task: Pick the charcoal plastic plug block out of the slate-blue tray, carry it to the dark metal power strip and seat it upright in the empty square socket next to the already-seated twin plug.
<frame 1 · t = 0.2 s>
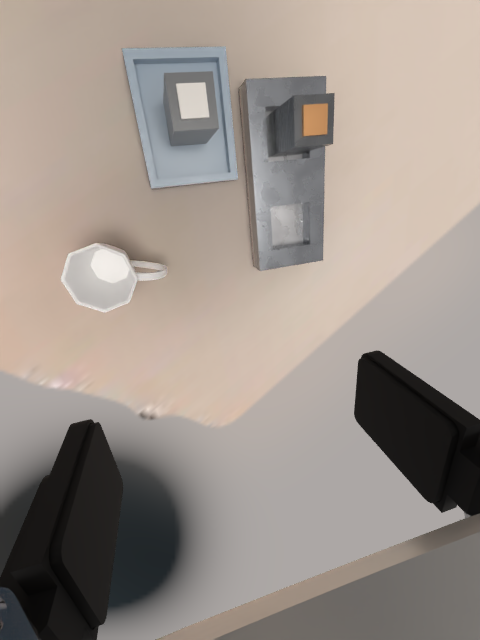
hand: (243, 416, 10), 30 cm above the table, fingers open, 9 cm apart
strip: (280, 183, 37), on the table
tray: (185, 125, 32), on the table
plug: (185, 123, 31), point 1 cm above the table, touching tray
cup: (125, 262, 36), on the table
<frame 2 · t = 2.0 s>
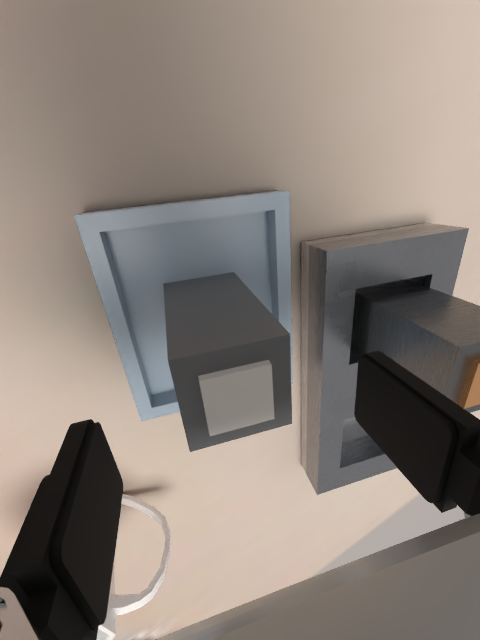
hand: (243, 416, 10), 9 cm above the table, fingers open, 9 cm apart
strip: (353, 362, 23), on the table
tray: (203, 306, 18), on the table
plug: (204, 310, 17), point 1 cm above the table, touching tray
cup: (100, 496, 22), on the table
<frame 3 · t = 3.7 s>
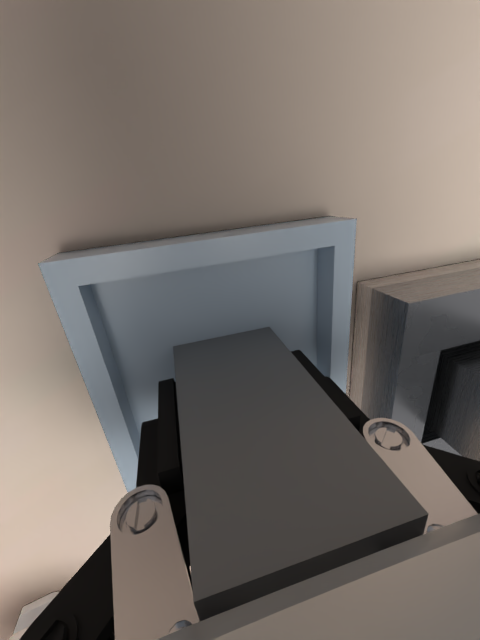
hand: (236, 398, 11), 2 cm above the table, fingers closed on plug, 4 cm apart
strip: (411, 424, 18), on the table
tray: (225, 369, 13), on the table
plug: (228, 376, 12), point 1 cm above the table, touching gripper, tray
cup: (89, 602, 17), on the table
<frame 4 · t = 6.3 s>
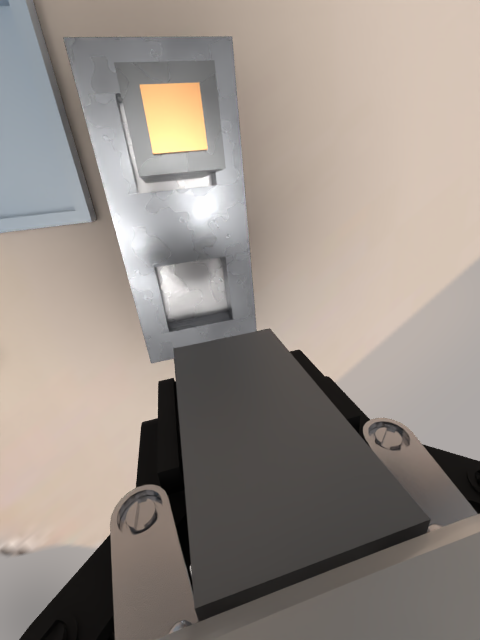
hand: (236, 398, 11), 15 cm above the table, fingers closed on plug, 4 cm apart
strip: (181, 223, 22), on the table
plug: (228, 378, 12), point 14 cm above the table, touching gripper
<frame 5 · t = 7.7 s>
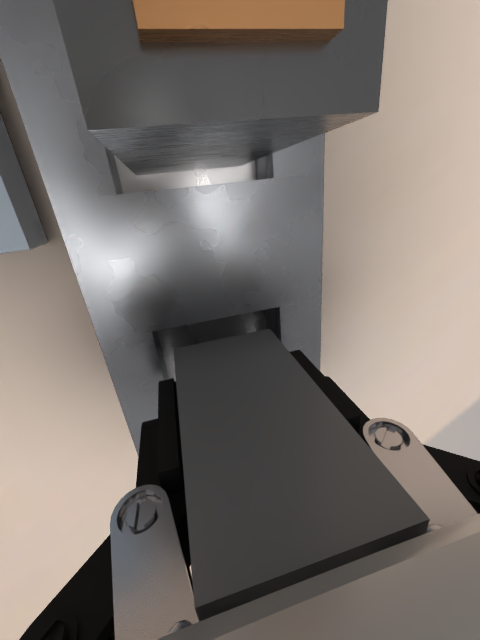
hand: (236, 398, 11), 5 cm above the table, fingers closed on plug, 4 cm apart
strip: (199, 246, 13), on the table
plug: (228, 378, 12), point 3 cm above the table, touching gripper
when the fingers open (4 cm above the table, at t = 8.8 s): plug drops 1 cm, resting on strip.
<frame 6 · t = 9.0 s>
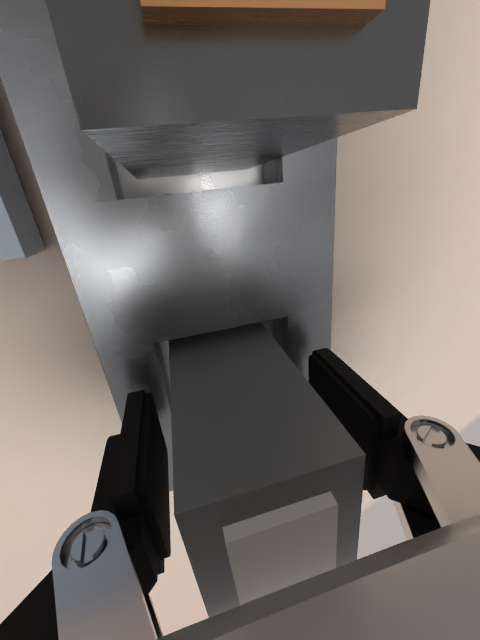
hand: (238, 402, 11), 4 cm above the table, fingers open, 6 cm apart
strip: (203, 252, 13), on the table
plug: (219, 362, 14), point 1 cm above the table, touching strip
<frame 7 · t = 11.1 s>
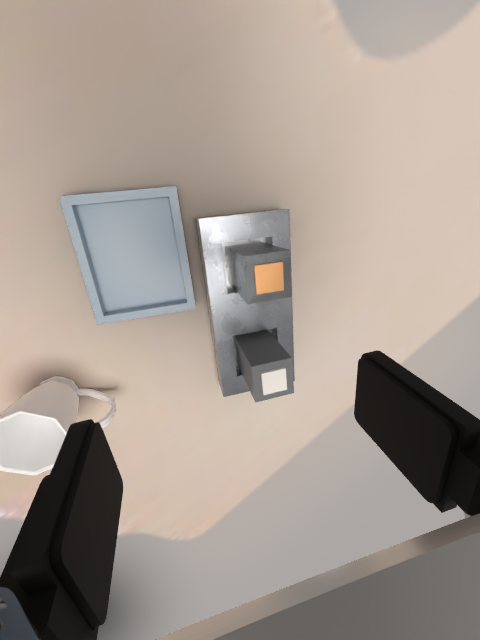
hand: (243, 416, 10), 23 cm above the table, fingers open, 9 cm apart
strip: (246, 303, 34), on the table
tray: (136, 256, 29), on the table
plug: (251, 345, 35), point 1 cm above the table, touching strip
cup: (74, 390, 33), on the table
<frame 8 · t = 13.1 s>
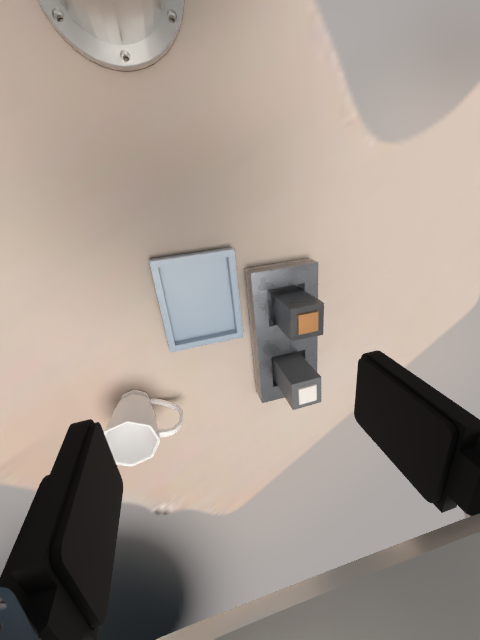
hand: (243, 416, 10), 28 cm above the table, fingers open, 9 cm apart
strip: (279, 329, 43), on the table
tray: (199, 298, 38), on the table
plug: (283, 362, 44), point 1 cm above the table, touching strip
cup: (146, 400, 42), on the table
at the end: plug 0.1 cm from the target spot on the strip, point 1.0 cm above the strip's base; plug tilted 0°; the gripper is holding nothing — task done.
